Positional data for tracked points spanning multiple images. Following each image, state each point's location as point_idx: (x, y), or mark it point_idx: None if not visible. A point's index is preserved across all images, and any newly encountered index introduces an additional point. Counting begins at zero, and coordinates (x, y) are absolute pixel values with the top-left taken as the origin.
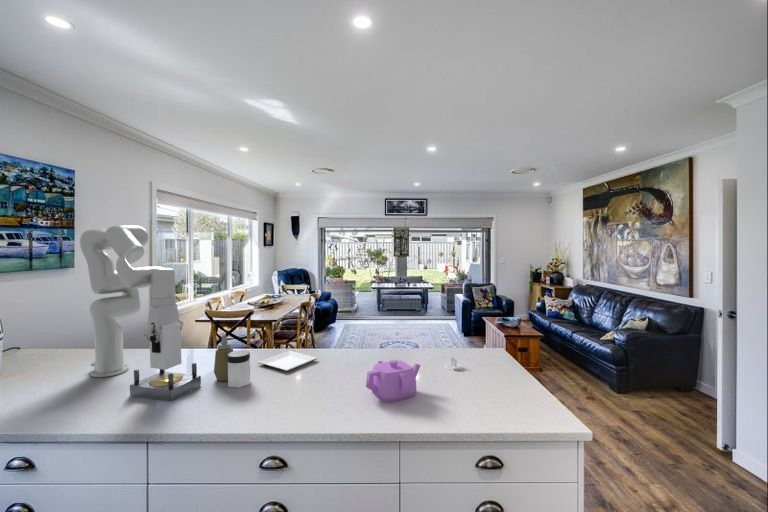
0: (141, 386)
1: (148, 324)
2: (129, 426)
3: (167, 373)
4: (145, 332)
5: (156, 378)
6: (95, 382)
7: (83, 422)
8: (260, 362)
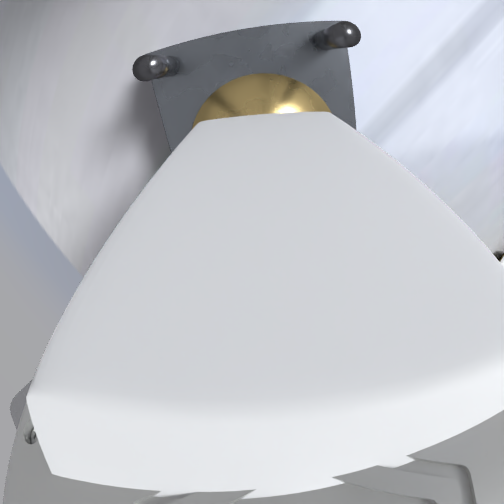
0: (162, 116)
1: (15, 492)
2: (84, 261)
3: (330, 72)
4: (18, 421)
5: (254, 87)
6: None
7: (22, 149)
8: (501, 261)
